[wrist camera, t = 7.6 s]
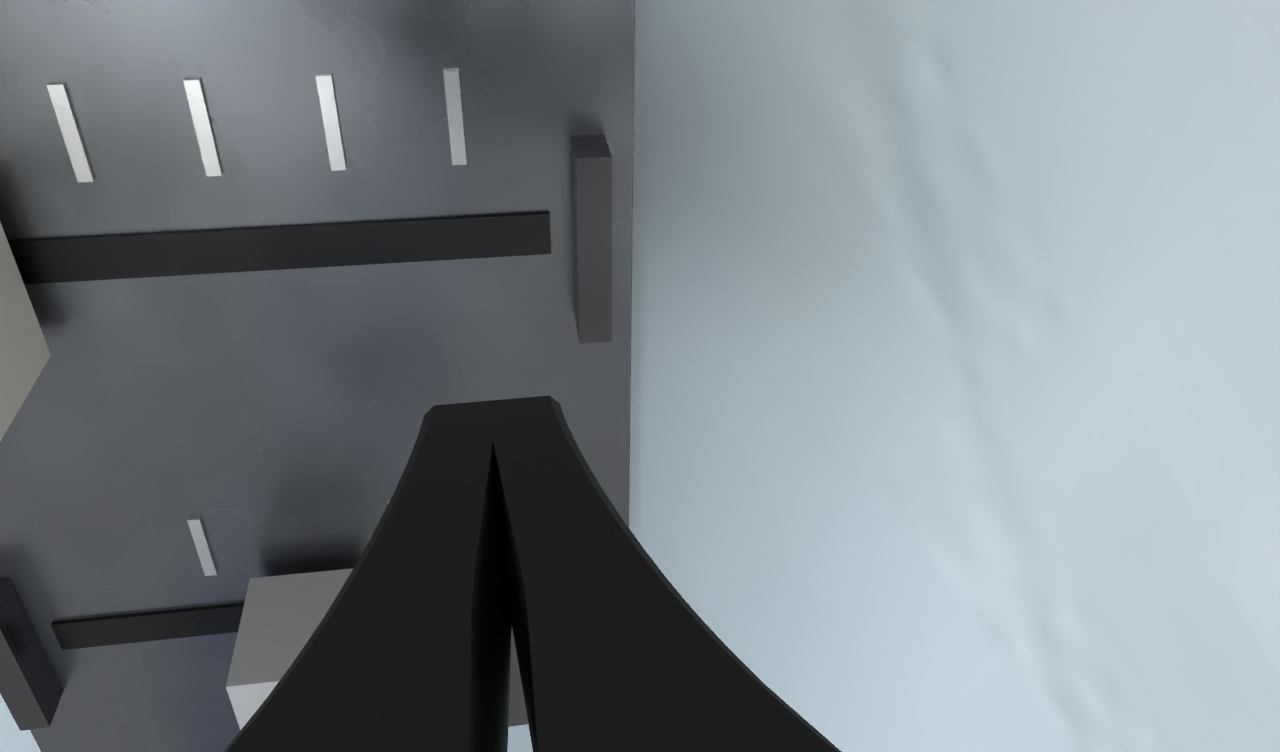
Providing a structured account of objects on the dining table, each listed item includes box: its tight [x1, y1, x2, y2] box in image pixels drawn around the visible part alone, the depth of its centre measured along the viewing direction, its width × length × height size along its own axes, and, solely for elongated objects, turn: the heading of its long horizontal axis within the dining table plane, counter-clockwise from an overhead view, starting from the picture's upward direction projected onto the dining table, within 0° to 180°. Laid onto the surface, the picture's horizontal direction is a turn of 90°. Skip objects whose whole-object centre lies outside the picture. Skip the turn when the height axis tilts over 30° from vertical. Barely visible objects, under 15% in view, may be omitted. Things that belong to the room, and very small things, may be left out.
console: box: [0, 0, 635, 752], centre depth 20 cm, size 20×14×3 cm
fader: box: [226, 568, 353, 731], centre depth 21 cm, size 3×2×3 cm
